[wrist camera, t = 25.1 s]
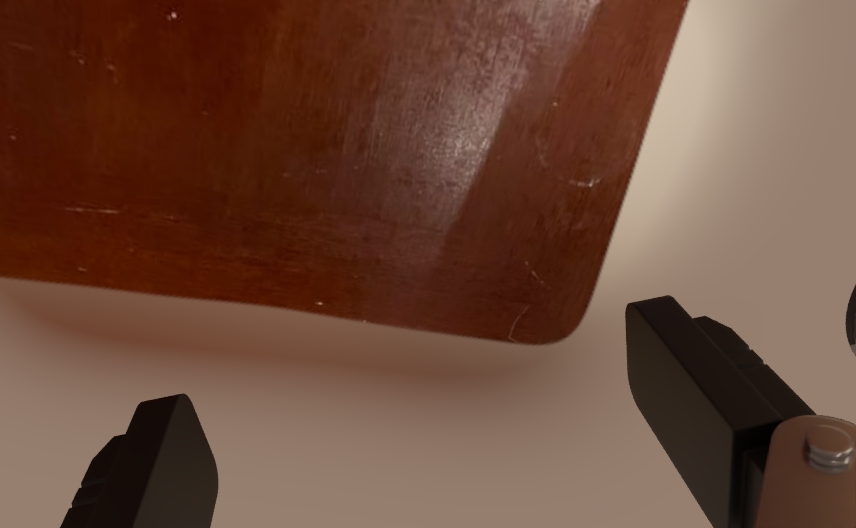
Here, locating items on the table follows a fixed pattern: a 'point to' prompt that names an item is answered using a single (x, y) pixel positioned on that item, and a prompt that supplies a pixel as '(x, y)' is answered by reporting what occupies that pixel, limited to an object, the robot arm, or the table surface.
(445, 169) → the table surface
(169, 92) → the table surface
